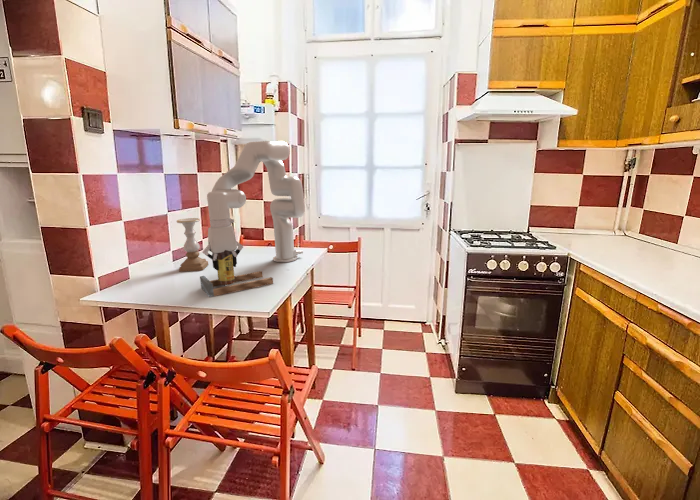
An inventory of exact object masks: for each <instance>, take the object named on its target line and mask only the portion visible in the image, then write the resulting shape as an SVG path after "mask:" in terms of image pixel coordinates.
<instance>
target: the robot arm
mask: <svg viewBox="0 0 700 500" xmlns="http://www.w3.org/2000/svg"><path fill="white" fill-rule="evenodd" d="M290 152H291V151H290V146H289V144H288V143H287V142H285V141H284V140H275V141H274V140H273V141H272V140H261V141H249V142H247V143H246V144H245V145H244V146H243V148H242V151H241V152H240V155H239V156H238V159H237V160H236V162H235V164H234V166H233V167H232V168H230V169H229V170H227V171H226V172H225V173H224V174H222V175H221V176H220V177H219V178H218V179H217V181H216V182H215V184H214V185H213V188H212V190H211V191H209V192H208V193H207V194H206V200H207V208H208V216H209V225H210V226H209V227H208V228H207V245H206V247H205V248H204V249H203V251H202V253H203V254H204V255H205V256H207V257H208V258H209V259H210V260H212V267H213V269H214V270H215V271H217V270H219V269H218V261H217V260H216V258H217V255H218V253H221V252H224V251H225V250H228V251H231V252H232V256H233V267H234V268H236V267H237V265H238V262H237V257H238V255H239V254H240V252H241V251H242V250H243V249H244V246H243V245H242V244H241V243H240V242H238V241H237V236H236V233H235V230H234V226H233V225H232V224H233V223H235V219H234V218H231V214H230V209H240V208H242V207H244V206H245V204H246V203H247V197H246V194H245V192H244V191H242V190H240V189H233V188H234V187H236V186H237V185H240V184H243V183H245V182H247V181H250V180H251V179H252V178H253V177H254V176H255V174H256V171H257V169H258V167H259V165H260V162H261V163H262V164H264V166H265V168H266V170H267V171H266V172H267V175H268V176H267V177H268V183H269V189H270V193H271V194H272V195H273V196H275V197H276V196H277V197H283V198H274V199H273V200H272V201H271V202H270V206H269V207H270V208H269V209H270V214H271V217H272V222H273V235H274V237H273V238H274V246H275V247H274V249H275V256H274V257H273V258H272V260H273V261H274V262H277V263H288V262H293V261H297V260H298V255H301V254H302V255H303V253H304V251H303V249H300V250H299V249H295V242H294V228H293V223H292V221H291V219H292V218H293V219H294V218H295V219H296V218H297V219H299V218H302V217H303V216H304V215H305V212H306V205H305V195H304V189H303V188H304V187H303V183H302V181H301V179H300V178H298V177H297V176H292V175H291V176H289V175H287V172H286V168H285V164H284V163H283V161H285V160H287V159H288V158H289V157H290V154H291V153H290ZM284 197H285V198H284ZM286 197H290V198H286ZM290 218H291V219H290ZM209 252H211V254H210V253H209Z"/></svg>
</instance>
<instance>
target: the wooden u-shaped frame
mask: <svg viewBox="0 0 700 500" xmlns="http://www.w3.org/2000/svg"><path fill="white" fill-rule="evenodd" d="M263 276H264V274H263V271H262V270H259V271H254V272H253V271H252V272H249V273H244V274H239V275H234V277H235V279H234V283H233V284H230V285H220V284H219V280H218V278H217V279H213V280H209V279H208V278H207V277H206V276H205V275H201V276H200V275H199V281H200V289H202V291H203V292H204V293H205V294H206V295H207V296H208V297H209V298H211V297H216V296H217V297H218V296H222V295H226V294H231V293H235V292H241V291H244V290H249V289H254V288H258V287H259V288H260V287H264V286H268V285H273V284H274V278H273V277H272V276H270V277H266V278H263ZM260 278H261V279H260ZM250 280H251V281H250ZM239 282H241V283H239ZM235 283H236V284H235Z"/></svg>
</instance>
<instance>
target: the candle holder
mask: <svg viewBox="0 0 700 500" xmlns="http://www.w3.org/2000/svg"><path fill="white" fill-rule="evenodd" d="M198 222H200V218H199V217H198V218H197V217H193V218H192V217H190V218H189V217H188V218H181V219H177V220H176V223H177V224H182V226H183V227H184V229H185V230H184V233H183V234H184V235H185V237H186V240H185V242H184V244H183V246H182V247H183V250H184V251H185V252H186V253H185V256H186V259H184V261H183V262H181V264H180V266H179V267H178V269H179V272H181V273H182V272H197V271H198V272H200V271H204V270H205V269H206V268H207V267H208V266H209V261H208V260H207V259H206V258H203V257H200V252H199V250H200V249H201V246H200V243H199V242H198V240H196V238H195V236H196V231H195V230H194V229H195V228H194V226H195V225H196V224H195V223H198Z"/></svg>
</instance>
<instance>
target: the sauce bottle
mask: <svg viewBox="0 0 700 500" xmlns="http://www.w3.org/2000/svg"><path fill="white" fill-rule="evenodd" d="M216 260H217V261H218V269H219V270H216V271H217V279H218V280H219V284H220V285H225V286H230V285H234V284H235V283H234V279H235V277H234V276H235V267H234V266H233V256H232V252H231V251H228V250H225V251H224V252H221V253H218V255H217V258H216Z"/></svg>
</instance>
